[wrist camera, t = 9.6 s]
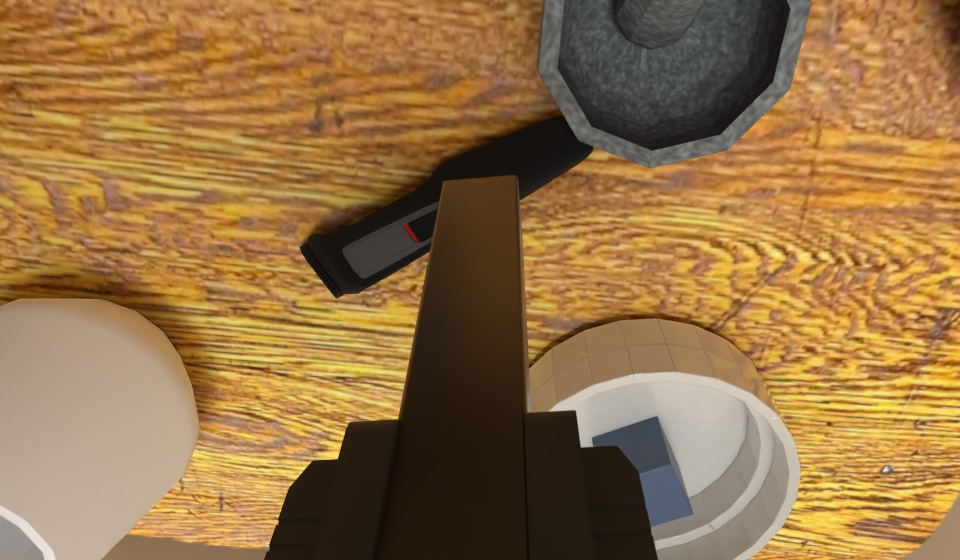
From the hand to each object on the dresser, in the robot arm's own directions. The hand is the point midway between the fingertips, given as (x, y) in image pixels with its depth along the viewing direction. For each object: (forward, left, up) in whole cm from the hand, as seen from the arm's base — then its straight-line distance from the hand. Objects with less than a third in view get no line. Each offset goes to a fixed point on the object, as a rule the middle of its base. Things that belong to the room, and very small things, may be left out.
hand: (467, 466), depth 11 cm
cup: (-23, -16, -27) cm, 39 cm away
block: (+7, -23, -27) cm, 36 cm away
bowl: (+7, -22, -27) cm, 36 cm away
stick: (0, 0, -9) cm, 9 cm away
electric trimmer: (-3, -7, -27) cm, 29 cm away
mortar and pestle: (+7, +2, -27) cm, 28 cm away
